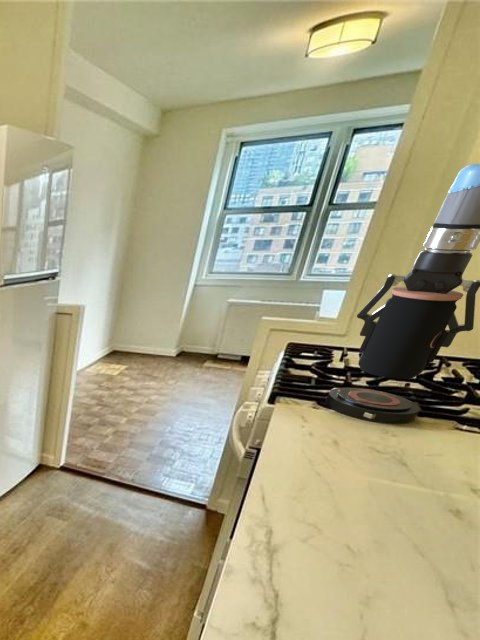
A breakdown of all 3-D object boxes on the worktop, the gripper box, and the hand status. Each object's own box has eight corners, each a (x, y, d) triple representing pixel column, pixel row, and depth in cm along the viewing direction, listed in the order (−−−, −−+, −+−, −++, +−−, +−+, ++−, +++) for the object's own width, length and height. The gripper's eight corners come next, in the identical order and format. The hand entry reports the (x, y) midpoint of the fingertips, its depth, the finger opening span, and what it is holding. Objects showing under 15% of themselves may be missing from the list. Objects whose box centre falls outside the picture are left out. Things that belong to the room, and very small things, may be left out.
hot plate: (433, 419, 110) (441, 406, 109) (378, 427, 107) (385, 415, 106) (358, 393, 124) (364, 382, 122) (308, 401, 121) (313, 389, 119)
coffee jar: (425, 383, 104) (472, 297, 96) (360, 375, 110) (398, 293, 101) (412, 368, 112) (454, 288, 104) (352, 361, 117) (387, 285, 109)
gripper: (368, 249, 104) (326, 348, 114) (537, 256, 89) (470, 371, 99) (373, 245, 108) (332, 342, 119) (534, 252, 93) (470, 362, 104)
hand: (394, 355), depth 109 cm, fingers closed on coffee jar, 11 cm apart
